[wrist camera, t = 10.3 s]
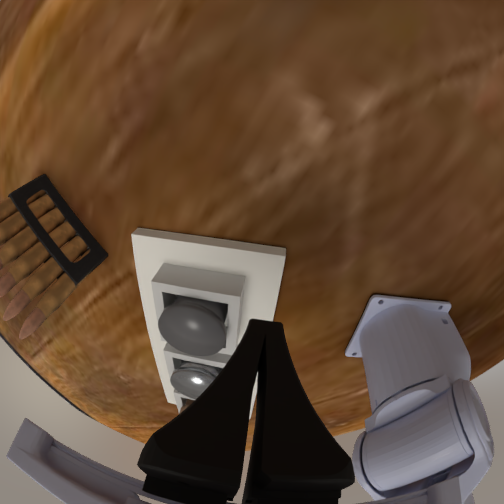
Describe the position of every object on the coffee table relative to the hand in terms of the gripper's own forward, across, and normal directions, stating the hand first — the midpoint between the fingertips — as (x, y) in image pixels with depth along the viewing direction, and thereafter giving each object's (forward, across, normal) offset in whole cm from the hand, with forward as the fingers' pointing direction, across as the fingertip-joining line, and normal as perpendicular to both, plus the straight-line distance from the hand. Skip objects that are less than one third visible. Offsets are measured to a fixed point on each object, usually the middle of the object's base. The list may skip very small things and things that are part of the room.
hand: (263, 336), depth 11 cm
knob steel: (+9, +5, +14) cm, 18 cm away
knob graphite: (+9, +5, +6) cm, 12 cm away
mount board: (+10, +5, +14) cm, 18 cm away
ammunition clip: (+10, +19, +1) cm, 22 cm away
